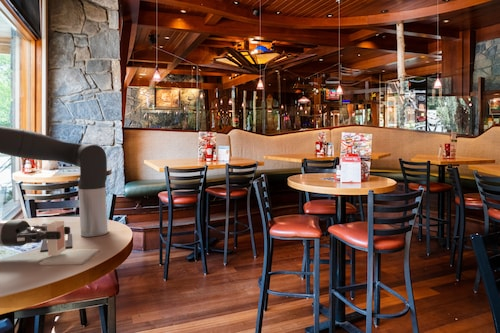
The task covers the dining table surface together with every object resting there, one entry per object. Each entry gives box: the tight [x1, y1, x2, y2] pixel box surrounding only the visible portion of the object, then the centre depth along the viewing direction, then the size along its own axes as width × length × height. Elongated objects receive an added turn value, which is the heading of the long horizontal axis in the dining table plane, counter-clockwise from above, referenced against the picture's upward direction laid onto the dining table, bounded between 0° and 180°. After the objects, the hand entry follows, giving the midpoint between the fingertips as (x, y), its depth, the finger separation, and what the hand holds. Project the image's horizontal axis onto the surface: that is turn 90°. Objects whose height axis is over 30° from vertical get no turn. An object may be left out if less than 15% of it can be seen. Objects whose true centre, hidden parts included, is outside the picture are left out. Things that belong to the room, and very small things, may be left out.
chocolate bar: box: [39, 233, 73, 253], centre depth 125 cm, size 9×1×18 cm
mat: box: [38, 248, 100, 266], centre depth 109 cm, size 12×12×1 cm
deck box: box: [47, 220, 67, 257], centre depth 108 cm, size 5×3×9 cm, turn 0°
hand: (64, 232), depth 108 cm, fingers closed on deck box, 5 cm apart
